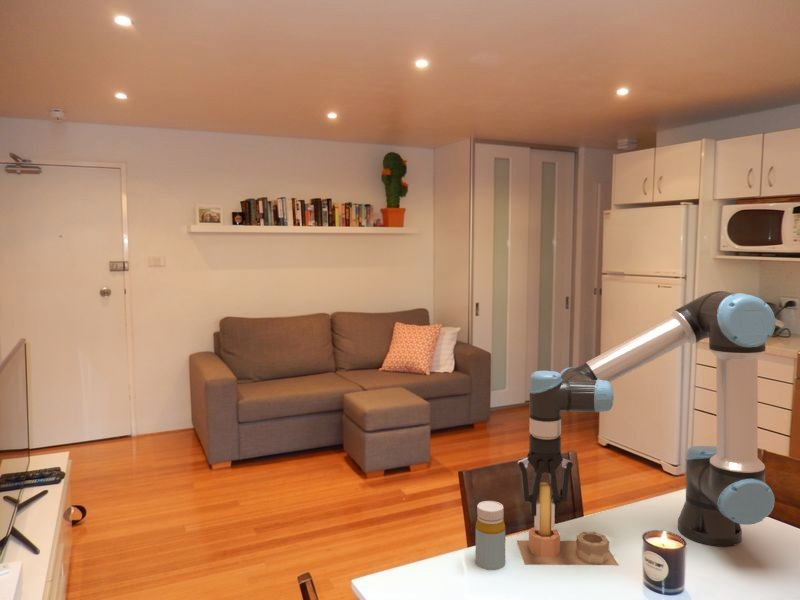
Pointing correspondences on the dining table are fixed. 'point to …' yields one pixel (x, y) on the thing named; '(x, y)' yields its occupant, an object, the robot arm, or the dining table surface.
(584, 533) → the bead beech
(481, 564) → the bottle
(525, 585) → the dining table surface
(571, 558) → the lacing board
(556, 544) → the bead rust
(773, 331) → the robot arm
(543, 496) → the dowel
